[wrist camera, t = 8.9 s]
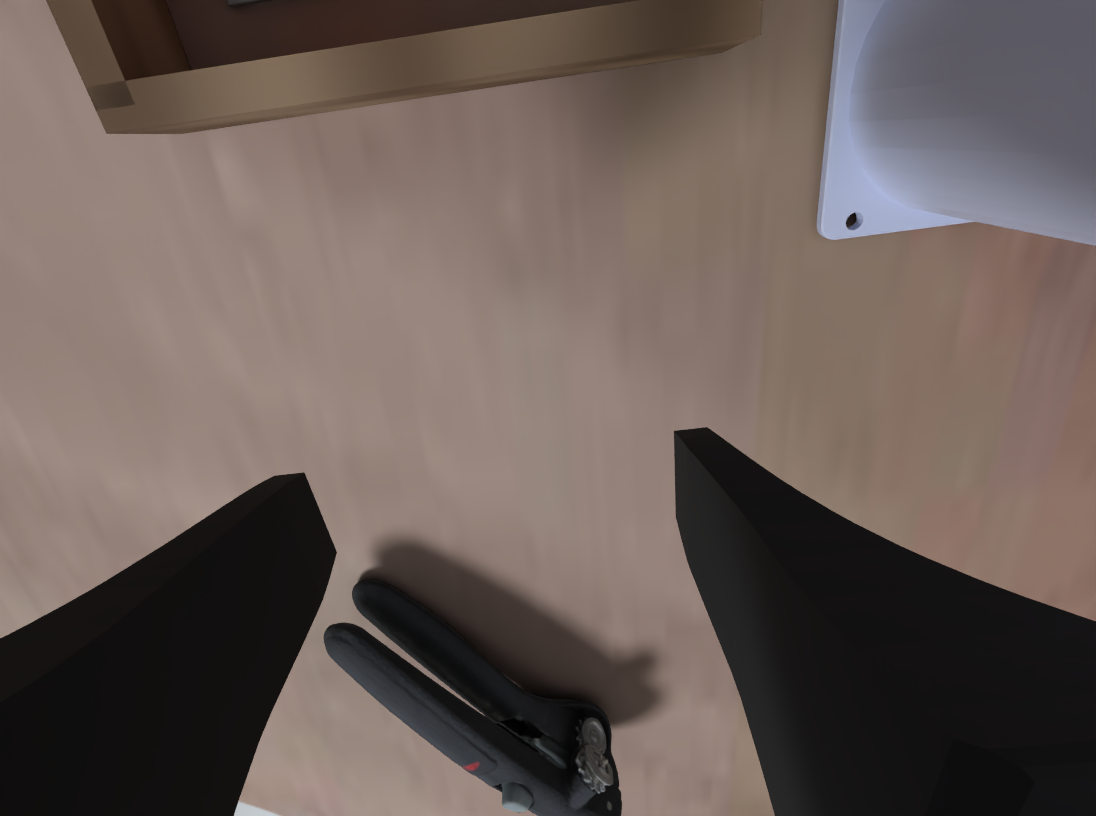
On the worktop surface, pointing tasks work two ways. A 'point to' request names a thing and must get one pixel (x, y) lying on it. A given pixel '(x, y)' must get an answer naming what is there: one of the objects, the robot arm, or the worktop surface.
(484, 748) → the can opener
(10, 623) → the worktop surface
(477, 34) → the arena
